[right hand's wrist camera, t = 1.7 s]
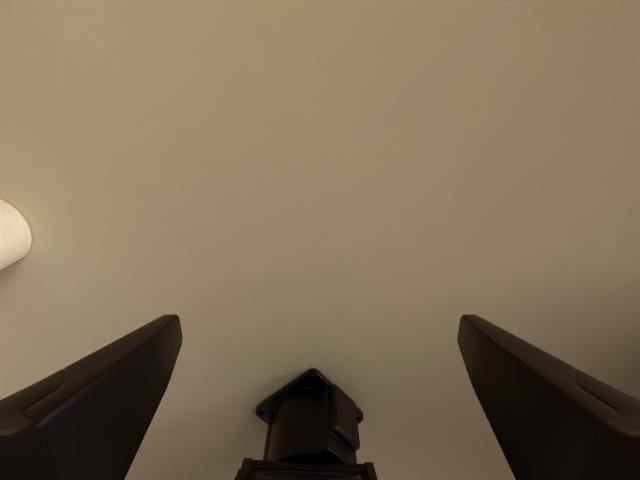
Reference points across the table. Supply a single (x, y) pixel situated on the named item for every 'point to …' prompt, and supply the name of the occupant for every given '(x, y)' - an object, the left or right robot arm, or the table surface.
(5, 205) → the canister
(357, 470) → the right robot arm
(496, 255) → the table surface
